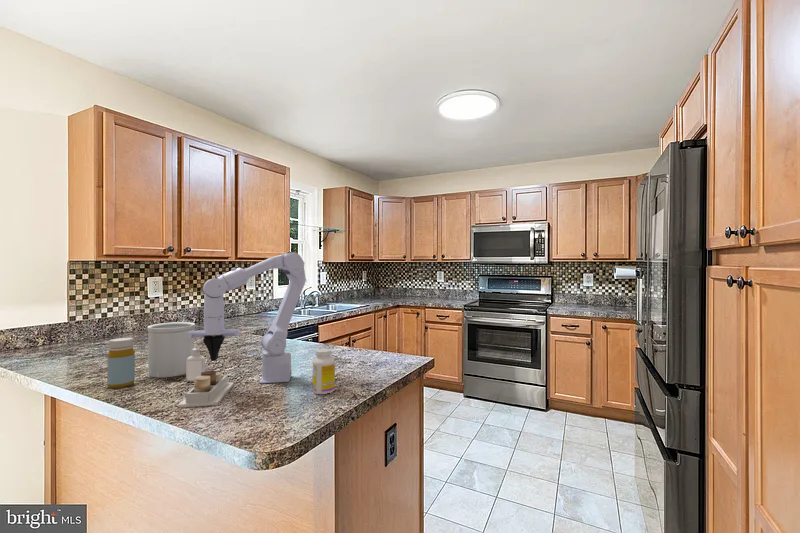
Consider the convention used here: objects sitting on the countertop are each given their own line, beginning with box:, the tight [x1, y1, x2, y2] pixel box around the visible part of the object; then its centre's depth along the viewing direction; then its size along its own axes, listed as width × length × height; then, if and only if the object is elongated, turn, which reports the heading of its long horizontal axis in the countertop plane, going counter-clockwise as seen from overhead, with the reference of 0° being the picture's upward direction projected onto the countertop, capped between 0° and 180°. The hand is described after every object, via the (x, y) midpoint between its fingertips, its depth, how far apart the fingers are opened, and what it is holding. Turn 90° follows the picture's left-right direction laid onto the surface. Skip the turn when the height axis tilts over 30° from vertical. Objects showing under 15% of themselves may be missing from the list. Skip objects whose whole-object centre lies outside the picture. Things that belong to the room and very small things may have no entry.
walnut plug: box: [201, 369, 217, 386], centre depth 109 cm, size 4×4×4 cm
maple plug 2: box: [216, 371, 222, 380], centre depth 114 cm, size 4×4×4 cm
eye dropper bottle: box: [185, 344, 206, 382], centre depth 123 cm, size 4×6×12 cm
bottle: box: [106, 337, 136, 389], centre depth 118 cm, size 7×7×15 cm
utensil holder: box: [147, 321, 196, 378], centre depth 133 cm, size 15×15×18 cm
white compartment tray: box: [177, 374, 235, 409], centre depth 109 cm, size 10×18×4 cm, turn 12°
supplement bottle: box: [312, 348, 336, 395], centre depth 111 cm, size 7×7×13 cm
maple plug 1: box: [193, 376, 210, 393], centre depth 103 cm, size 4×4×4 cm
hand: (214, 359), depth 114 cm, fingers closed
